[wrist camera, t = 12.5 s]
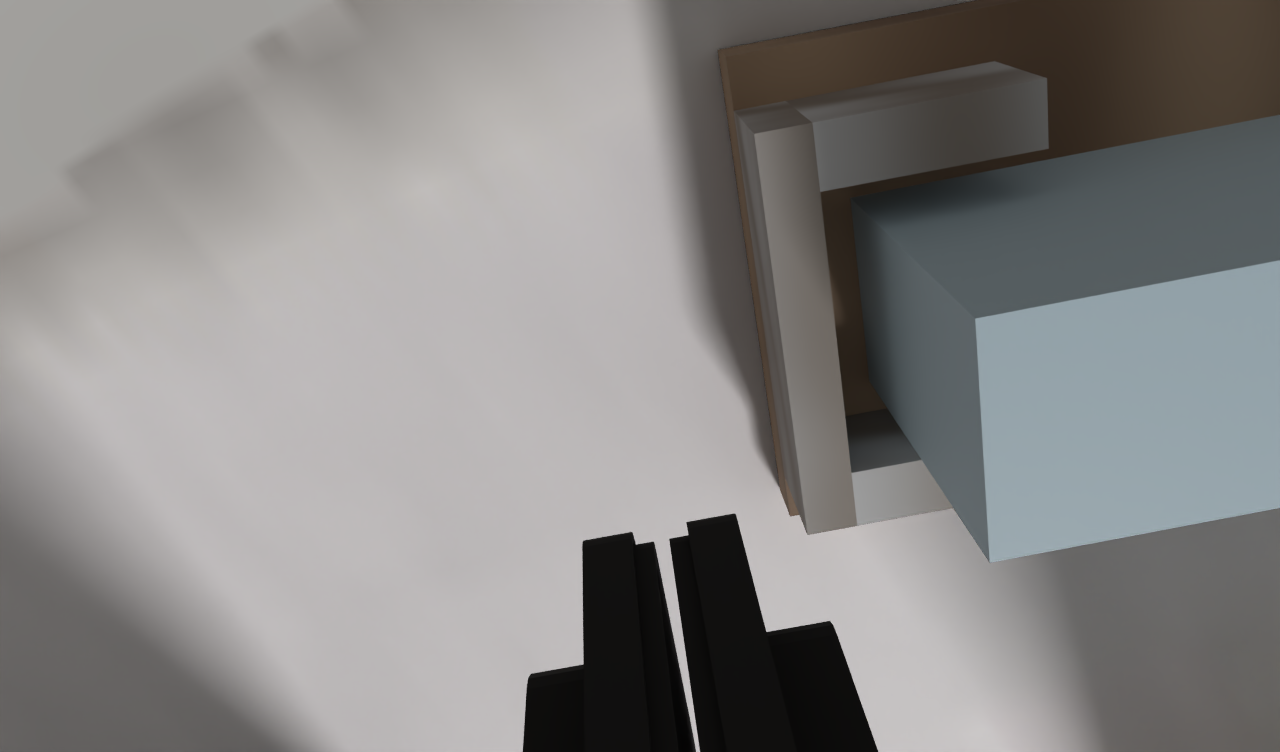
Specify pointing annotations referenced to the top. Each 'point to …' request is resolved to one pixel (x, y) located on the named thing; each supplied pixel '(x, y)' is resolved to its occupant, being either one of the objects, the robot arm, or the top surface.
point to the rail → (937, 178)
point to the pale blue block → (1085, 336)
